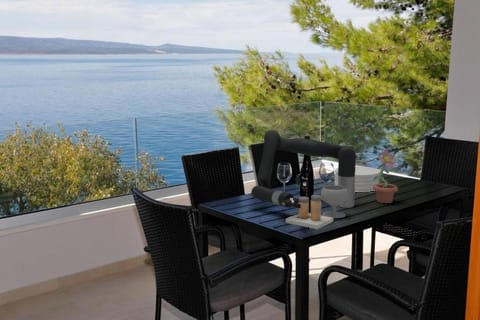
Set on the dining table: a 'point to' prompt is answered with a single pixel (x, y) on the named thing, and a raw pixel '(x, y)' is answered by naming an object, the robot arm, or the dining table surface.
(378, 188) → the decorative flower
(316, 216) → the white board with post
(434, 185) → the dining table surface
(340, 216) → the chalice
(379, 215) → the dining table surface
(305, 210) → the grey-capped tan peg
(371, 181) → the plate stack
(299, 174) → the pneumatic valve
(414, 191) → the dining table surface
